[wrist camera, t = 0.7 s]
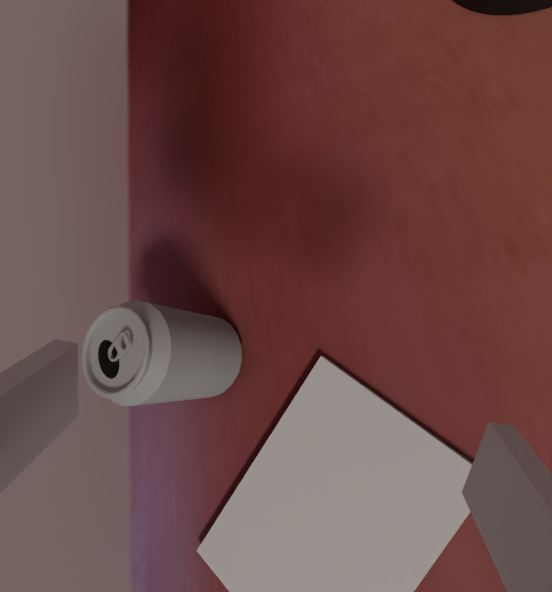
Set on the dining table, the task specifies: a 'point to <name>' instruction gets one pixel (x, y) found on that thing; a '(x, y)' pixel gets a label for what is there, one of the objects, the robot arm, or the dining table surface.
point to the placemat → (339, 497)
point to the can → (159, 354)
